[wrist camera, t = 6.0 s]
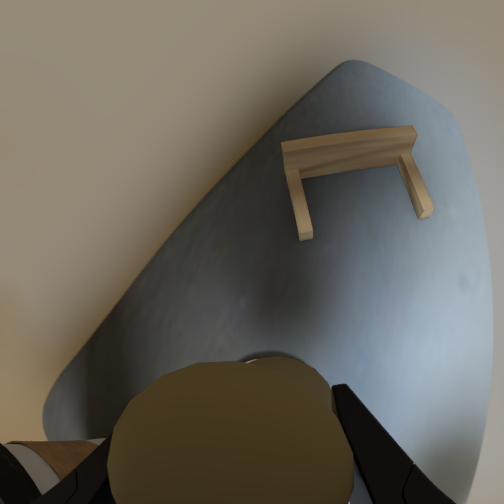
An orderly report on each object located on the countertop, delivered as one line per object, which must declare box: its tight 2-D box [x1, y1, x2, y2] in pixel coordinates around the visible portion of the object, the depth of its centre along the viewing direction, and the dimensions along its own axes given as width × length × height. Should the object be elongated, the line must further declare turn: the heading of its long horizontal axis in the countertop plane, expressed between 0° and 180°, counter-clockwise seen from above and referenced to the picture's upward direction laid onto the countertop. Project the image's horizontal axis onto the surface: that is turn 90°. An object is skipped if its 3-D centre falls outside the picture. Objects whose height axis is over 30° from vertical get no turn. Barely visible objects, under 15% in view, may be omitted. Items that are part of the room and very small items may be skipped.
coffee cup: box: [0, 438, 106, 504], centre depth 13 cm, size 8×8×15 cm
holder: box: [281, 126, 434, 241], centre depth 23 cm, size 6×11×4 cm, turn 98°
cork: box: [107, 356, 354, 504], centre depth 9 cm, size 6×6×11 cm
